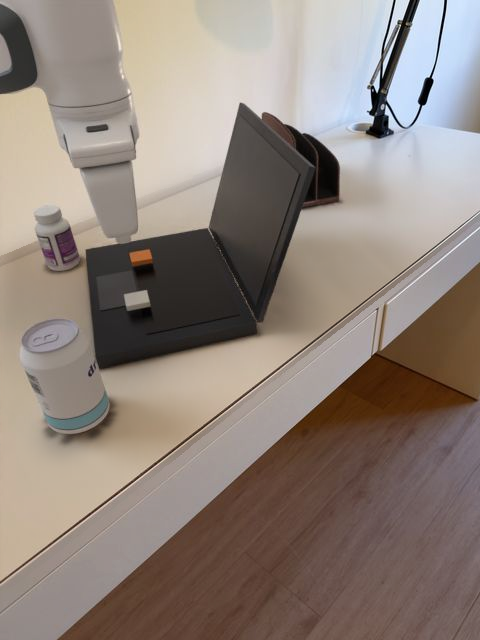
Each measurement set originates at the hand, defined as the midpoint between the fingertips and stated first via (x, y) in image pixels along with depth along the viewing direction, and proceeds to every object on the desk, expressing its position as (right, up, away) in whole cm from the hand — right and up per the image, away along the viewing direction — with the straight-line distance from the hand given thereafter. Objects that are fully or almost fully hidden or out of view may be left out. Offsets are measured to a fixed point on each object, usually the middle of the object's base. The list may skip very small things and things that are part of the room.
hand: (123, 238), depth 67 cm
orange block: (-1, -1, +16) cm, 16 cm away
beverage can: (-3, -22, -6) cm, 23 cm away
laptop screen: (+15, +7, +9) cm, 19 cm away
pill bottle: (-16, 0, +22) cm, 27 cm away
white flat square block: (0, -8, +7) cm, 11 cm away
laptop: (+2, -5, +13) cm, 15 cm away
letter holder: (+25, +19, +43) cm, 53 cm away
